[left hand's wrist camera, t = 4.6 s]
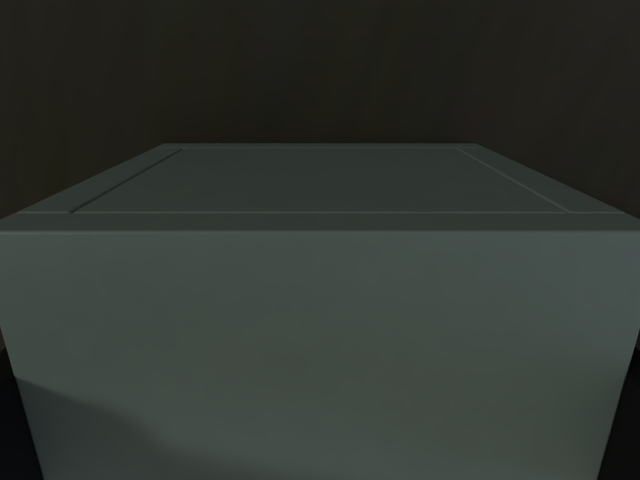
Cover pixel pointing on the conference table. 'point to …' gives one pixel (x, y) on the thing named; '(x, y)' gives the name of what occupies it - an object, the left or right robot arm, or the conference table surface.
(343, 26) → the conference table surface
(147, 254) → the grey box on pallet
